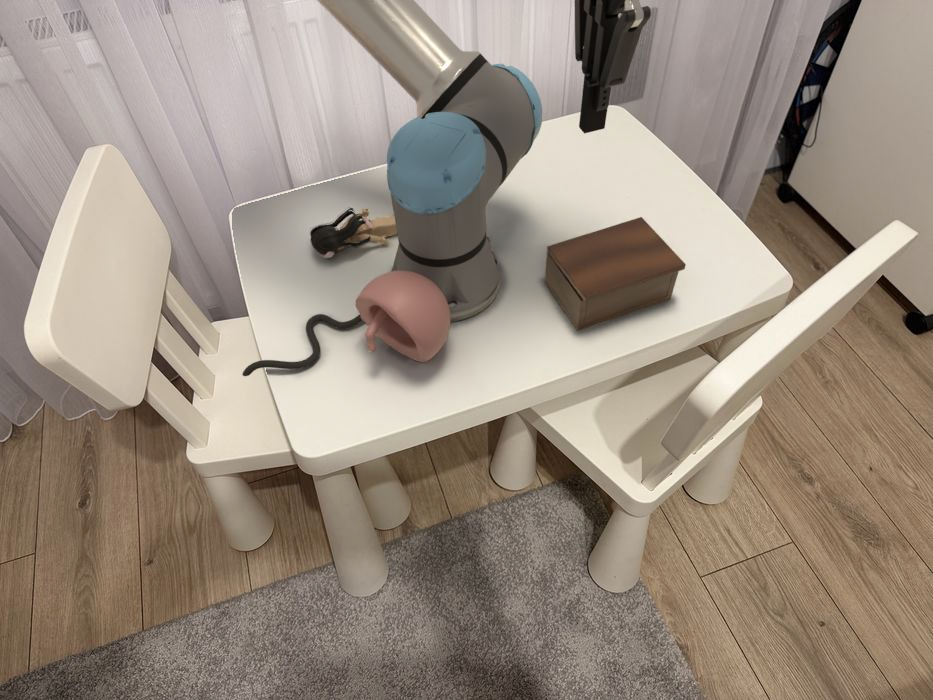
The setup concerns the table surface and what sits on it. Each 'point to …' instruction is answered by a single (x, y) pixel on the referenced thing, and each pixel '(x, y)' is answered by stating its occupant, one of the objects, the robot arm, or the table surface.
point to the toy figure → (351, 232)
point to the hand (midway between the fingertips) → (591, 127)
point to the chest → (605, 297)
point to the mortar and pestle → (405, 314)
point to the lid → (614, 259)
